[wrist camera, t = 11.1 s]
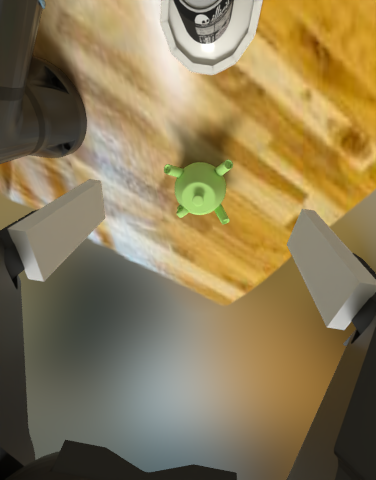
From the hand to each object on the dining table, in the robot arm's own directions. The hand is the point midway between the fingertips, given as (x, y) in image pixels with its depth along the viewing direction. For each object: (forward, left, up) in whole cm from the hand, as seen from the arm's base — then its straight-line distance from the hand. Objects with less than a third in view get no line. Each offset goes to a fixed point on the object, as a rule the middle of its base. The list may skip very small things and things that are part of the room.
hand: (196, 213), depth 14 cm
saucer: (-3, +16, -29) cm, 33 cm away
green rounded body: (0, -7, -29) cm, 30 cm away
